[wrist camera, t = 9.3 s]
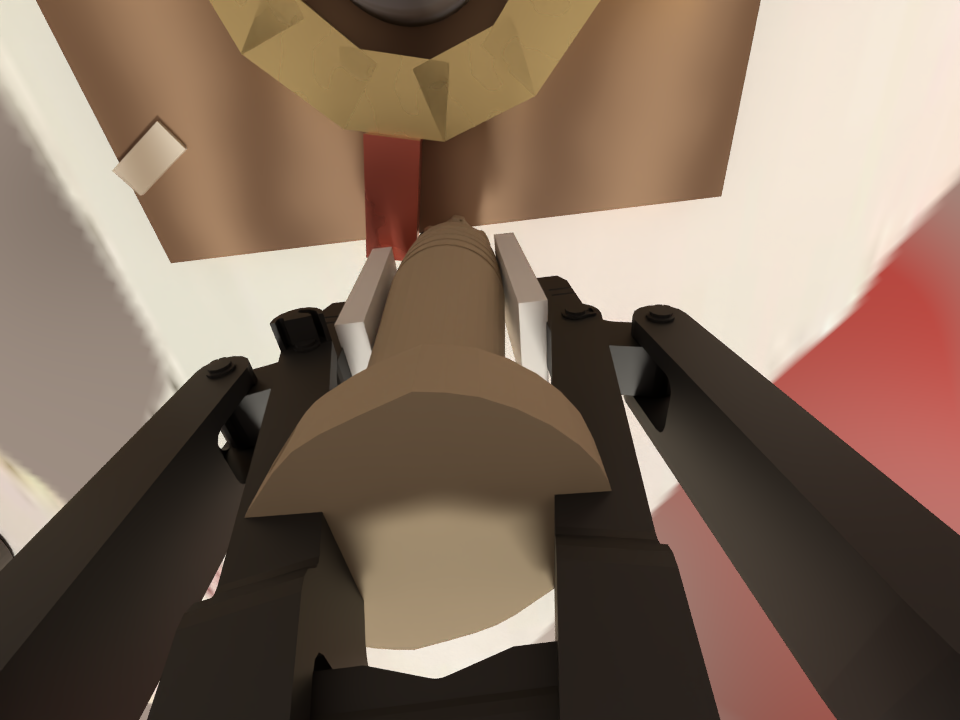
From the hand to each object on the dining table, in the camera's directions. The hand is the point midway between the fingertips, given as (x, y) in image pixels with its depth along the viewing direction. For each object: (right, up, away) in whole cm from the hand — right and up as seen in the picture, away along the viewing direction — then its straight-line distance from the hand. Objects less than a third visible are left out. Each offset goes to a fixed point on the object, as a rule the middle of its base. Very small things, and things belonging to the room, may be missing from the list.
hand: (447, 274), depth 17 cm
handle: (0, +2, +2) cm, 3 cm away
